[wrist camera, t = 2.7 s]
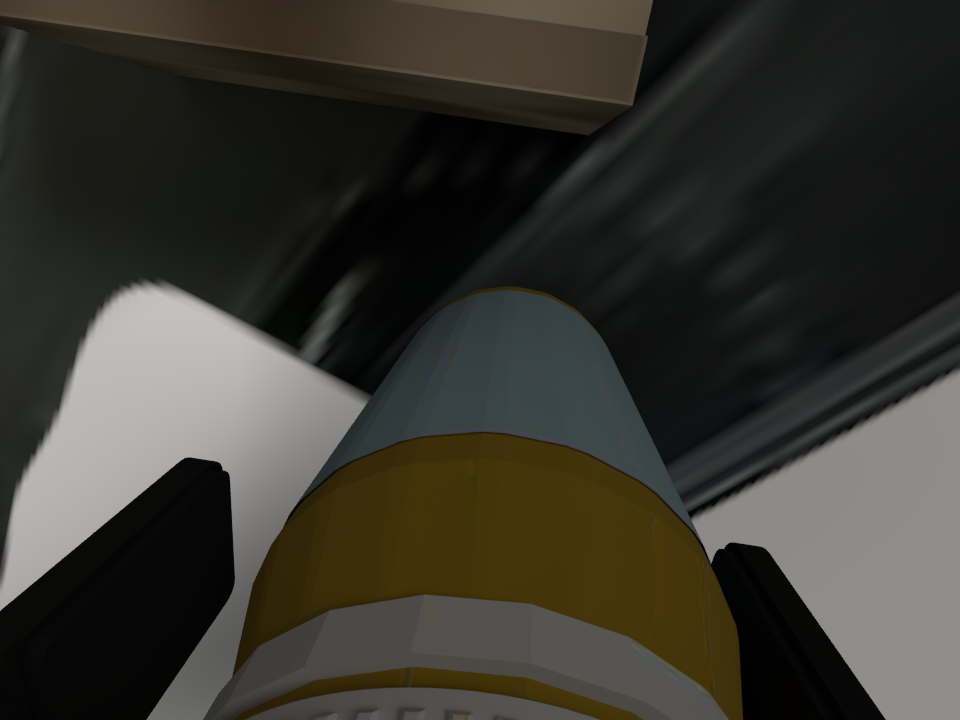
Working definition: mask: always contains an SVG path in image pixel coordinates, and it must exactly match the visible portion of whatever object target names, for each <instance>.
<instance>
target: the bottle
mask: <svg viewBox="0 0 960 720" xmlns="http://www.w3.org/2000/svg"><path fill="white" fill-rule="evenodd" d="M203 720H743V708H742V689H741V671H740V652H739V640H738V634H737V628H736V624H735V622H734V619H733V617H732V614H731V612H730V609H729V607H728V604H727V602H726V600H725V597H724V595H723V592H722V590H721V587H720V585H719V582H718V580H717V578H716V575H715V573H714V570H713V568H712V565H711V563H710V561H709V558H708V556H707V553H706V551H705V548H704V546H703V544H702V542H701V540H700V538H699V536H698V534H697V531H696V529H695V527H694V525H693V523H692V521H691V519H690V517H689V515H688V513H687V511H686V509H685V507H684V505H683V503H682V501H681V498H680V496H679V494H678V492H677V490H676V488H675V486H674V484H673V482H672V480H671V478H670V476H669V474H668V472H667V470H666V468H665V465H664V463H663V461H662V459H661V457H660V455H659V453H658V451H657V449H656V447H655V445H654V443H653V441H652V439H651V437H650V435H649V433H648V430H647V428H646V426H645V424H644V422H643V420H642V418H641V416H640V414H639V412H638V410H637V408H636V406H635V404H634V402H633V400H632V397H631V395H630V393H629V391H628V389H627V387H626V385H625V383H624V381H623V379H622V377H621V375H620V373H619V371H618V369H617V367H616V365H615V362H614V360H613V358H612V356H611V354H610V352H609V350H608V348H607V346H606V344H605V343H604V341H603V340H602V338H601V337H600V335H599V333H598V332H597V331H596V330H595V328H594V327H593V326H592V325H591V324H590V323H589V322H588V321H587V320H586V319H585V317H584V316H583V315H582V314H581V313H580V312H578V311H577V310H576V309H575V308H573V307H572V306H570V305H568V304H566V303H564V302H563V301H561V300H559V299H557V298H555V297H554V296H552V295H550V294H547V293H544V292H541V291H536V290H530V289H525V288H520V287H510V286H506V287H497V288H489V289H481V290H477V291H474V292H471V293H469V294H466V295H464V296H462V297H460V298H458V299H456V300H454V301H451V302H449V303H448V304H446V305H445V306H443V307H442V308H441V309H440V310H439V311H438V312H437V313H436V314H434V315H433V316H432V317H431V318H430V319H429V320H428V321H427V322H426V323H425V324H424V325H423V326H422V327H421V328H420V329H419V331H418V332H417V333H416V335H415V336H414V337H413V339H412V340H411V342H410V343H409V344H408V346H407V347H406V349H405V350H404V352H403V353H402V354H401V356H400V357H399V359H398V360H397V362H396V363H395V364H394V366H393V367H392V369H391V370H390V372H389V373H388V374H387V376H386V377H385V379H384V380H383V382H382V383H381V384H380V386H379V387H378V389H377V390H376V392H375V393H374V394H373V396H372V397H371V399H370V400H369V402H368V403H367V404H366V406H365V407H364V409H363V410H362V412H361V413H360V415H359V416H358V417H357V419H356V420H355V422H354V423H353V425H352V426H351V427H350V429H349V430H348V432H347V433H346V435H345V436H344V438H343V439H342V440H341V442H340V443H339V444H338V446H337V448H336V449H335V450H334V452H333V453H332V455H331V456H330V457H329V459H328V461H327V462H326V463H325V465H324V466H323V467H322V469H321V470H320V472H319V473H318V475H317V476H316V477H315V479H314V480H313V482H312V483H311V485H310V486H309V487H308V489H307V490H306V492H305V493H304V495H303V496H302V497H301V499H300V500H299V502H298V503H297V505H296V506H295V507H294V509H293V510H292V512H291V513H290V515H289V516H288V519H287V521H286V523H285V525H284V527H283V529H282V530H281V532H280V533H279V535H278V536H277V538H276V539H275V541H274V542H273V543H272V545H271V547H270V549H269V551H268V553H267V555H266V558H265V560H264V562H263V564H262V566H261V568H260V571H259V572H258V575H257V576H256V579H255V581H254V583H253V586H252V591H251V595H250V600H249V604H248V609H247V613H246V618H245V622H244V627H243V631H242V636H241V640H240V645H239V649H238V654H237V658H236V663H235V667H234V672H233V676H232V679H231V680H230V681H229V682H228V683H227V684H226V686H225V687H224V688H223V689H222V690H221V692H220V693H219V694H218V696H217V697H216V699H215V701H214V703H213V704H212V706H211V707H210V709H209V711H208V713H207V714H206V716H205V718H204V719H203Z"/></svg>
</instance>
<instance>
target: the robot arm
mask: <svg viewBox="0 0 960 720" xmlns="http://www.w3.org/2000/svg"><path fill="white" fill-rule="evenodd" d="M711 565H712V568H713V570H714V573H715V575H716V578H717V580H718V582H719V585H720V587H721V590H722V592H723V595H724V597H725V600H726V602H727V604H728V607H729V609H730V612H731V614H732V617H733V619H734V622H735V624H736V628H737V634H738V640H739V652H740V671H741V689H742V708H743V720H886V719H885V718H884V717H883V715H882V714H881V712H880V711H879V710H878V708H877V707H876V705H875V704H874V702H873V701H872V699H871V698H870V697H869V695H868V694H867V692H866V691H865V689H864V688H863V687H862V685H861V684H860V682H859V681H858V679H857V678H856V677H855V675H854V674H853V672H852V671H851V669H850V668H849V666H848V665H847V664H846V662H845V661H844V660H843V658H842V656H841V655H840V654H839V652H838V651H837V649H836V648H835V646H834V645H833V644H832V642H831V641H830V639H829V638H828V636H827V635H826V633H825V632H824V631H823V629H822V628H821V626H820V625H819V623H818V622H817V621H816V619H815V618H814V616H813V615H812V613H811V612H810V611H809V609H808V608H807V606H806V605H805V603H804V602H803V601H802V599H801V598H800V596H799V595H798V593H797V592H796V591H795V589H794V588H793V586H792V585H791V583H790V582H789V581H788V579H787V578H786V576H785V575H784V573H783V572H782V571H781V569H780V568H779V566H778V565H777V563H776V562H775V561H774V559H773V558H772V556H771V555H770V553H769V552H768V551H767V550H766V549H764V548H763V547H759V546H752V545H746V544H739V543H729V544H728V545H726V547H725V549H719V550H717V552H716V553H715V556H714V558H713V561H712V563H711ZM234 582H235V573H234V553H233V532H232V512H231V492H230V476H229V474H228V472H226V471H223V470H222V466H221V464H220V463H218V462H215V461H209V460H202V459H196V458H184V459H183V460H181V461H180V462H179V463H177V464H176V465H175V466H174V467H173V468H171V469H170V470H169V471H168V472H167V473H165V474H164V475H163V476H162V477H161V478H159V479H158V480H157V481H156V482H155V483H153V484H152V485H151V486H150V487H149V488H147V489H146V490H145V491H144V492H143V493H141V494H140V495H139V496H138V497H137V498H135V499H134V500H133V501H132V502H131V503H129V504H128V505H127V506H126V507H125V508H123V509H122V510H121V511H120V512H119V513H118V514H116V515H115V516H114V517H112V518H111V519H110V520H109V521H108V522H106V523H105V524H104V525H103V526H102V527H101V528H99V529H98V530H97V531H96V532H94V533H93V534H92V535H91V536H90V537H89V538H87V539H86V540H85V541H84V542H82V543H81V544H80V545H79V546H78V547H76V548H75V549H74V550H73V551H72V552H71V553H69V554H68V555H67V556H66V557H64V558H63V559H62V560H61V561H60V562H58V563H57V564H56V565H55V566H54V567H52V568H51V569H50V570H49V571H48V572H46V573H45V574H44V575H43V576H42V577H41V578H39V579H38V580H37V581H36V582H34V583H33V584H32V585H31V586H30V587H28V588H27V589H26V590H25V591H24V592H22V593H21V594H20V595H19V596H18V597H17V598H15V599H14V600H13V601H12V602H10V603H9V604H8V605H7V606H5V607H4V608H3V609H2V610H1V611H0V720H146V719H147V718H148V716H149V715H150V713H151V712H152V711H153V709H154V708H155V706H156V705H157V703H158V702H159V700H160V699H161V697H162V696H163V694H164V693H165V691H166V690H167V688H168V687H169V686H170V684H171V683H172V681H173V680H174V678H175V677H176V675H177V674H178V673H179V671H180V669H181V668H182V667H183V665H184V664H185V662H186V661H187V659H188V658H189V656H190V655H191V654H192V652H193V651H194V649H195V648H196V646H197V645H198V643H199V642H200V640H201V639H202V637H203V636H204V635H205V633H206V632H207V630H208V629H209V627H210V626H211V624H212V623H213V621H214V620H215V619H216V617H217V616H218V614H219V613H220V611H221V610H222V608H223V607H224V605H225V604H226V602H227V601H228V599H229V597H230V595H231V593H232V590H233V587H234Z"/></svg>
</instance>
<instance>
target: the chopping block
mask: <svg viewBox="0 0 960 720" xmlns="http://www.w3.org/2000/svg"><path fill="white" fill-rule="evenodd" d="M652 2H653V0H0V24H3V25H7V26H10V27H13V28H17V29H20V30H24V31H27V32H30V33H34V34H37V35H41V36H44V37H47V38H51V39H54V40H58V41H61V42H64V43H68V44H71V45H75V46H78V47H81V48H85V49H88V50H92V51H95V52H98V53H102V54H105V55H109V56H112V57H115V58H119V59H122V60H126V61H129V62H132V63H136V64H139V65H143V66H146V67H149V68H153V69H156V70H160V71H163V72H166V73H170V74H173V75H177V76H184V77H191V78H197V79H204V80H211V81H218V82H225V83H232V84H239V85H246V86H253V87H259V88H266V89H273V90H280V91H287V92H294V93H301V94H308V95H315V96H322V97H328V98H335V99H342V100H349V101H356V102H363V103H370V104H377V105H384V106H390V107H397V108H404V109H411V110H418V111H425V112H432V113H439V114H446V115H453V116H459V117H466V118H473V119H480V120H487V121H494V122H501V123H508V124H515V125H521V126H528V127H535V128H542V129H549V130H556V131H563V132H570V133H577V134H584V135H589V134H591V133H592V132H594V131H595V130H597V129H598V128H600V127H601V126H603V125H604V124H606V123H607V122H609V121H610V120H612V119H613V118H615V117H616V116H618V115H619V114H621V113H622V112H624V111H625V110H627V109H628V108H630V107H631V106H632V105H633V100H634V96H635V92H636V87H637V83H638V78H639V74H640V69H641V65H642V61H643V56H644V52H645V47H646V43H647V38H648V36H645V33H646V29H647V24H648V20H649V15H650V11H651V6H652Z"/></svg>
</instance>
